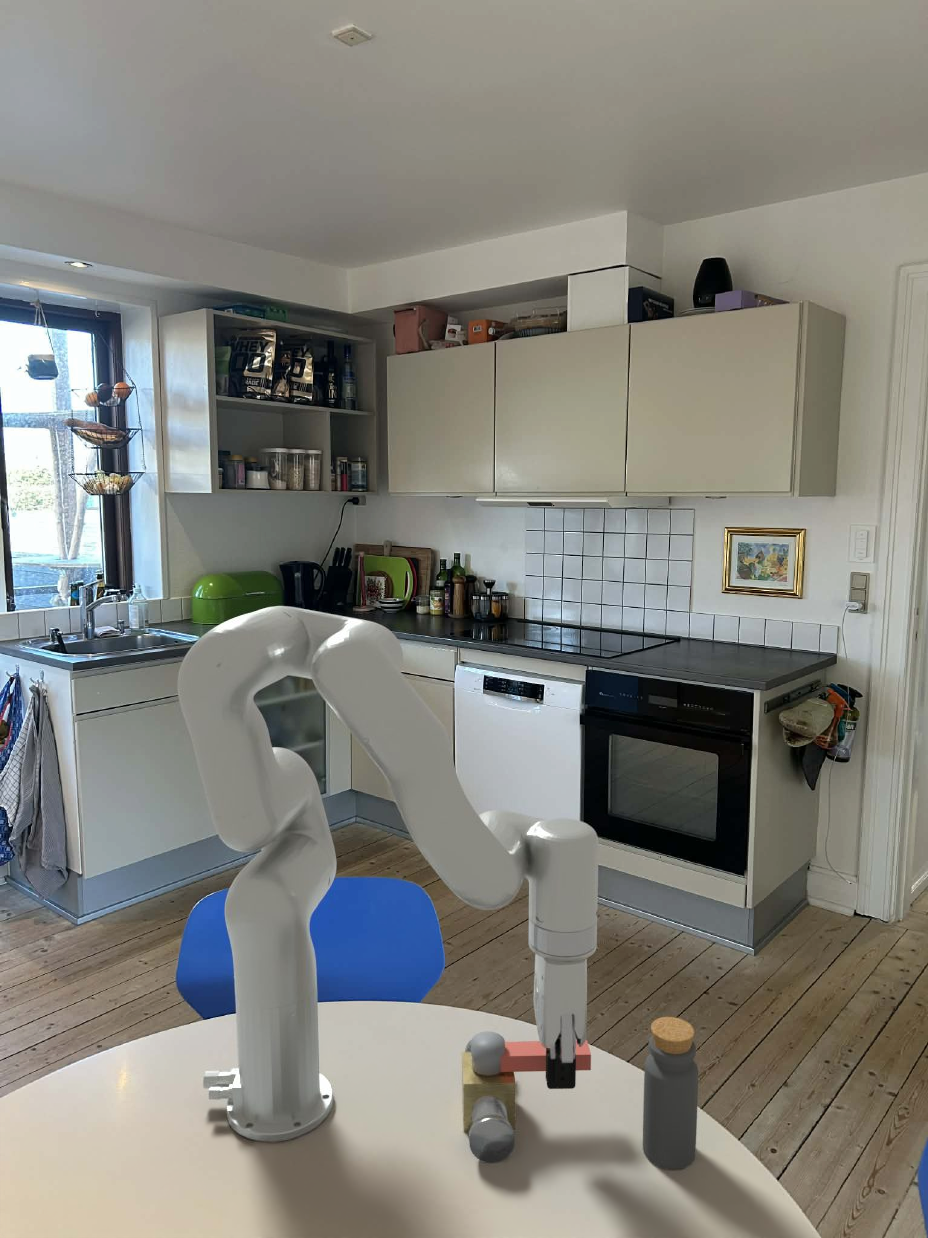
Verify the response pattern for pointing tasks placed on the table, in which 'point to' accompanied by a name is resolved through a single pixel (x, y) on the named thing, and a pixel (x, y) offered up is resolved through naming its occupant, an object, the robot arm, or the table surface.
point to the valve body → (488, 1111)
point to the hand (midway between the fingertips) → (560, 1084)
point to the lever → (515, 1055)
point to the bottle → (670, 1095)
